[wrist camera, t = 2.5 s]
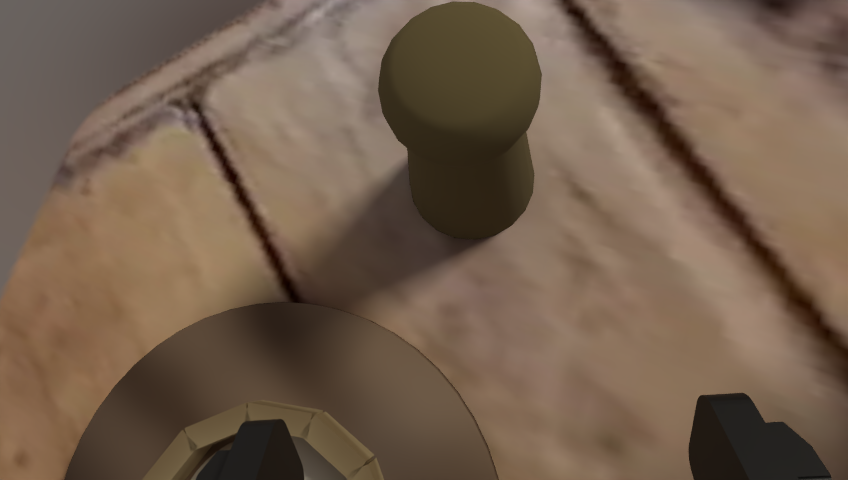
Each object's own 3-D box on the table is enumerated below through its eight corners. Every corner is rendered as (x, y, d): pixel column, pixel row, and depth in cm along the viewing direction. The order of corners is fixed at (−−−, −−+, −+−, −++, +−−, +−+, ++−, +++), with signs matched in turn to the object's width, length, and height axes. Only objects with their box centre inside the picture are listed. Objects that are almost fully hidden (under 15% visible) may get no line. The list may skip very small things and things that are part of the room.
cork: (491, 263, 26) (488, 193, 15) (386, 198, 27) (314, 92, 16) (558, 158, 26) (601, 20, 16) (452, 100, 28) (426, -64, 17)
